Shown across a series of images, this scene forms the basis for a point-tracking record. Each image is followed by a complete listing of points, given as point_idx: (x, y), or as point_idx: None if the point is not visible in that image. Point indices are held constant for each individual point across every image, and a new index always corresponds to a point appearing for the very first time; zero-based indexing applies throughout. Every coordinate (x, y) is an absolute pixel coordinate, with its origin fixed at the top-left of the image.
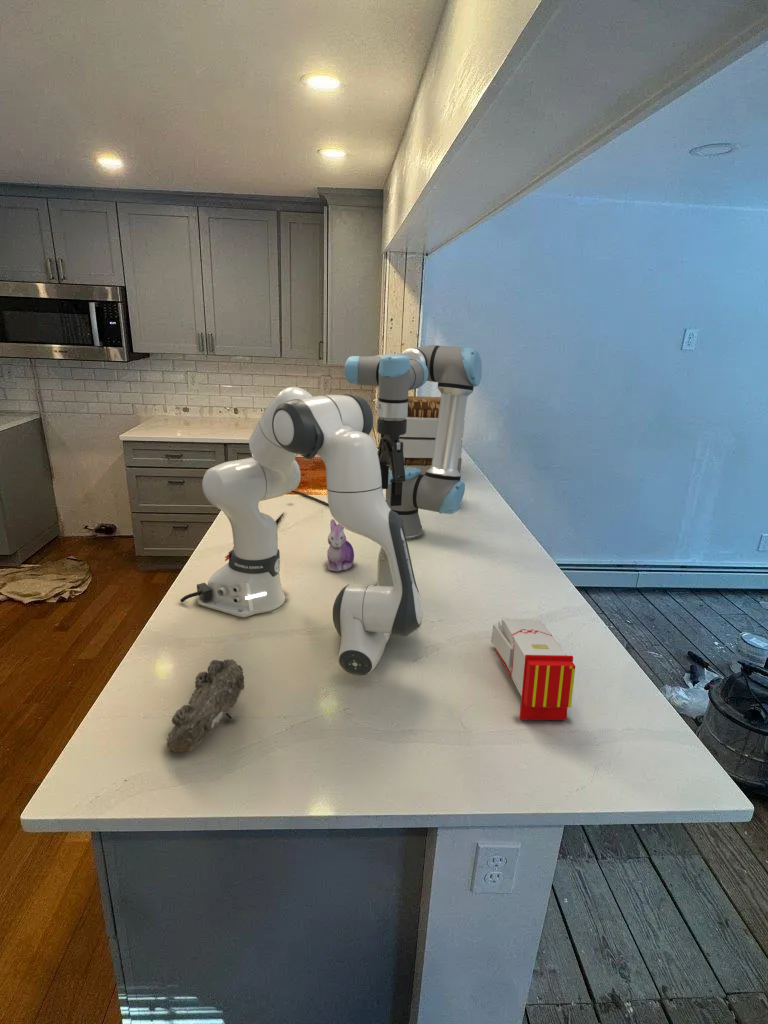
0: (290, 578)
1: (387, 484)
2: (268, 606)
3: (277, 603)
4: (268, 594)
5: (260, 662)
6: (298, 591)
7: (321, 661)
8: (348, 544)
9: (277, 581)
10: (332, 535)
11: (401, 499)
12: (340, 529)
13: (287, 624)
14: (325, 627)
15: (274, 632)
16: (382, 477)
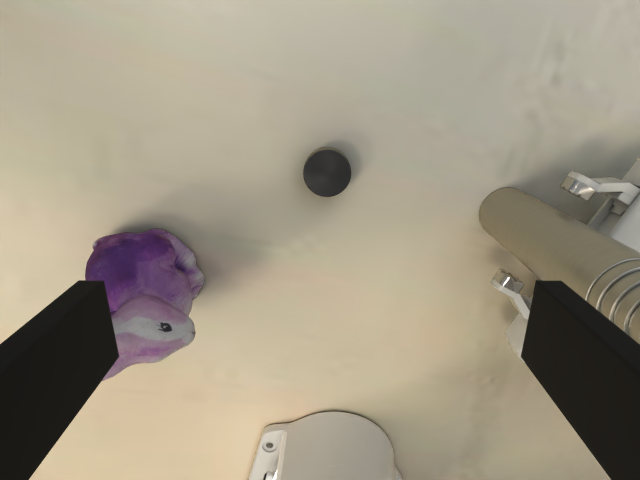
0: (232, 390)
1: (83, 308)
2: (389, 452)
3: (377, 434)
4: (386, 474)
5: (567, 463)
6: (305, 380)
7: None
8: (126, 269)
9: (364, 473)
10: (158, 361)
11: (594, 308)
12: (130, 341)
13: (450, 414)
14: (488, 348)
15: (474, 437)
16: (48, 409)
